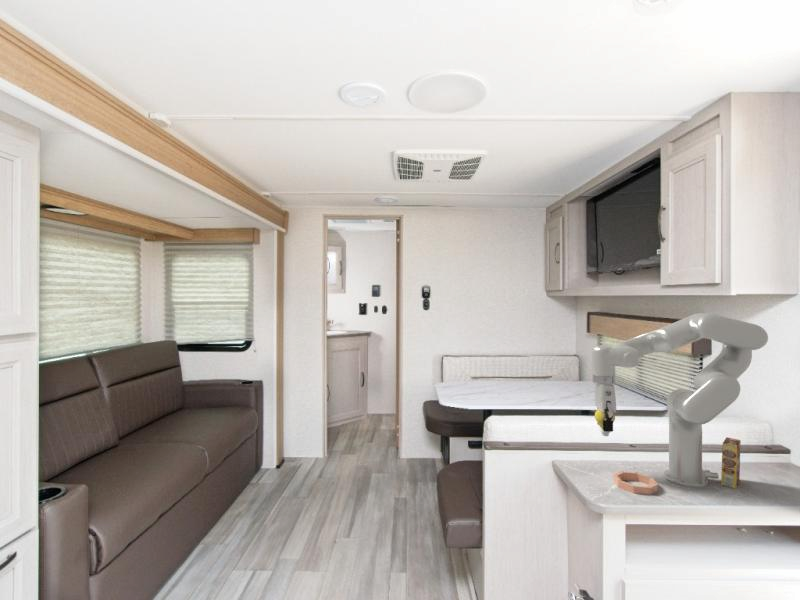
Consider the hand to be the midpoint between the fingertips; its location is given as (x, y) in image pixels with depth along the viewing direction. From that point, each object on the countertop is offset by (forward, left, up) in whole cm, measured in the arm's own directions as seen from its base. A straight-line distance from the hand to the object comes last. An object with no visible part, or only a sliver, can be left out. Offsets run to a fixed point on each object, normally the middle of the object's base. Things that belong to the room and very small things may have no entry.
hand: (605, 427), depth 148 cm
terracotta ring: (-6, +11, -17) cm, 21 cm away
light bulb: (0, 0, -3) cm, 3 cm away
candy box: (-40, +2, -17) cm, 43 cm away
